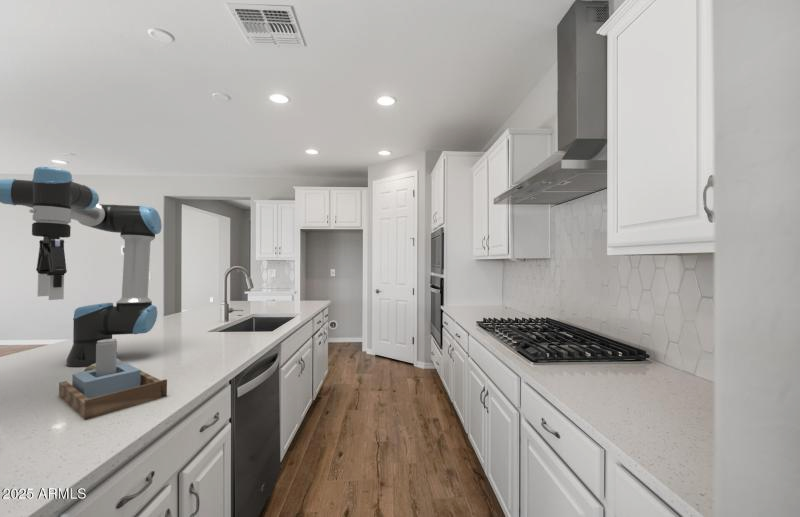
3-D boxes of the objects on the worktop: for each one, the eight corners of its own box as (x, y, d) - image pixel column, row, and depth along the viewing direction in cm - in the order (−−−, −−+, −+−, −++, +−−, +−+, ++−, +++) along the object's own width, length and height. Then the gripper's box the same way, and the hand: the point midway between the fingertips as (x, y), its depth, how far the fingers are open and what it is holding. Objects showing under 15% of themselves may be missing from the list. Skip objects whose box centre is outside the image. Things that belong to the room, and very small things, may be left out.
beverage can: (92, 383, 98) (93, 343, 98) (98, 378, 102) (99, 339, 103) (113, 380, 100) (114, 341, 101) (118, 375, 105) (119, 338, 105)
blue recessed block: (72, 393, 99) (72, 373, 99) (126, 381, 110) (126, 363, 110) (83, 403, 92) (84, 382, 92) (140, 389, 103) (140, 370, 103)
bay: (58, 399, 97) (59, 379, 98) (133, 381, 112) (133, 364, 112) (85, 424, 83) (85, 400, 83) (166, 400, 98) (167, 380, 98)
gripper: (23, 223, 97) (21, 295, 97) (42, 218, 83) (40, 302, 83) (59, 226, 103) (57, 293, 103) (82, 221, 89) (81, 299, 89)
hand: (50, 297), depth 93 cm, fingers open, 13 cm apart
